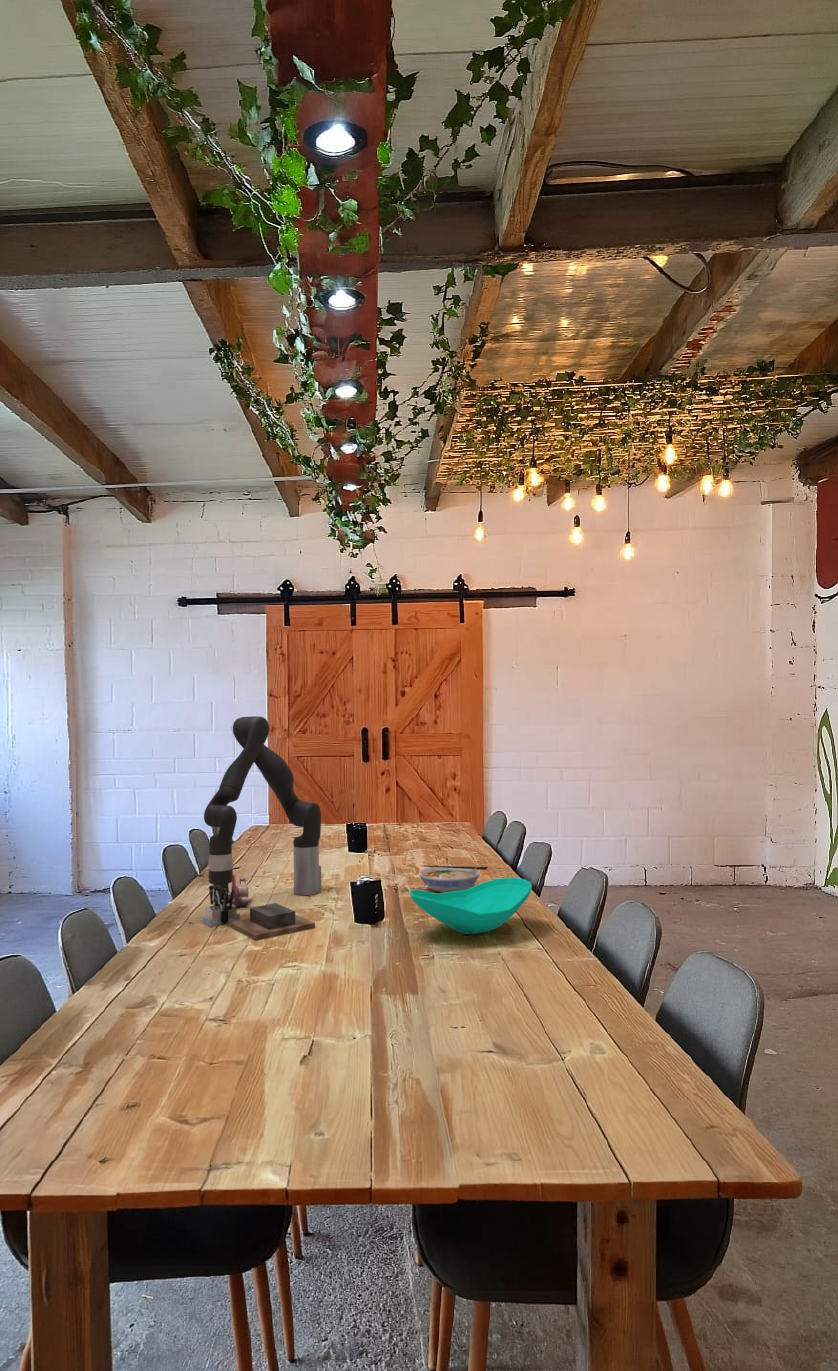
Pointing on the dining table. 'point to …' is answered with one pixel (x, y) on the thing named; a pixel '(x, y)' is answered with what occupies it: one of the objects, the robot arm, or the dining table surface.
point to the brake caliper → (240, 894)
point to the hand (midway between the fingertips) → (221, 920)
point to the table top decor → (475, 904)
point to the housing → (218, 915)
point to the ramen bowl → (450, 877)
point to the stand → (271, 922)
